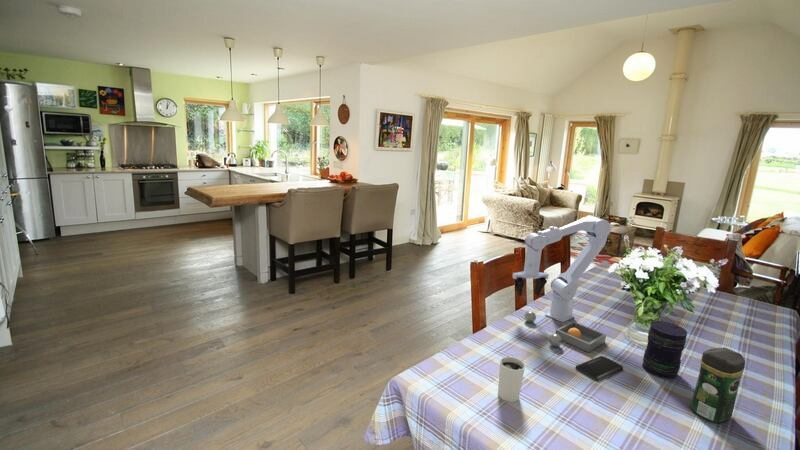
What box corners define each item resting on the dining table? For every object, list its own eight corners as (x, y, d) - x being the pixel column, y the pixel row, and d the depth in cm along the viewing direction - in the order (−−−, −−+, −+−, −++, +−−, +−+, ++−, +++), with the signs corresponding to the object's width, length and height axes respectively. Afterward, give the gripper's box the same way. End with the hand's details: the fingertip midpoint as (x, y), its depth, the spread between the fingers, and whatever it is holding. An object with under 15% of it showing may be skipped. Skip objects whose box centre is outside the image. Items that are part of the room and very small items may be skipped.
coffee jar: (703, 400, 112) (718, 341, 108) (736, 418, 105) (753, 356, 101) (683, 408, 108) (698, 347, 104) (715, 427, 101) (733, 363, 97)
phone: (624, 367, 125) (597, 379, 118) (624, 370, 126) (596, 382, 118) (601, 355, 132) (574, 366, 124) (601, 358, 132) (573, 369, 125)
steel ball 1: (527, 318, 158) (529, 308, 157) (537, 322, 155) (538, 312, 154) (521, 321, 156) (522, 311, 155) (531, 325, 152) (532, 315, 151)
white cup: (502, 384, 114) (506, 354, 112) (524, 394, 110) (528, 363, 108) (492, 395, 109) (496, 363, 107) (514, 406, 105) (519, 373, 103)
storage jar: (660, 381, 120) (670, 337, 117) (634, 363, 129) (642, 322, 126) (685, 377, 123) (695, 334, 120) (657, 360, 132) (666, 319, 129)
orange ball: (575, 329, 145) (565, 326, 144) (584, 329, 141) (574, 326, 140) (574, 341, 144) (564, 338, 143) (583, 341, 140) (573, 338, 139)
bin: (571, 328, 152) (572, 321, 151) (604, 342, 142) (606, 334, 141) (554, 337, 144) (555, 329, 143) (588, 353, 134) (589, 344, 134)
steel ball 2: (552, 341, 141) (554, 330, 140) (563, 346, 137) (565, 335, 136) (545, 345, 138) (547, 333, 137) (557, 350, 135) (559, 339, 134)
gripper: (519, 266, 150) (515, 299, 153) (554, 266, 153) (549, 298, 155) (511, 260, 157) (508, 292, 160) (545, 260, 159) (540, 291, 162)
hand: (528, 295), depth 158 cm, fingers open, 7 cm apart
